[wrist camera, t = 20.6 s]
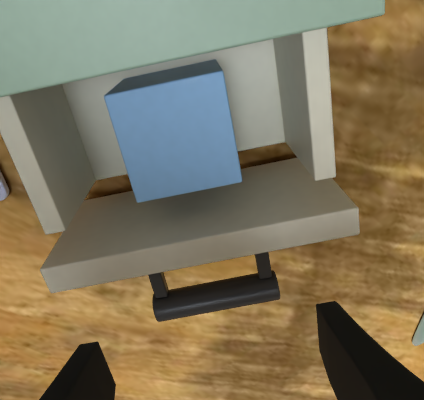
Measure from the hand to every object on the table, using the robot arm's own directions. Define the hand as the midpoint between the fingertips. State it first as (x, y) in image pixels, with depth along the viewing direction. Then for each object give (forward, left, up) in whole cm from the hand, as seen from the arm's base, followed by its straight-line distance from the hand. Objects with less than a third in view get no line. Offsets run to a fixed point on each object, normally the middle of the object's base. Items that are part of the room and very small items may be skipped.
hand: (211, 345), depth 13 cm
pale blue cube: (+6, 0, -8) cm, 10 cm away
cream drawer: (+4, 0, -9) cm, 10 cm away
